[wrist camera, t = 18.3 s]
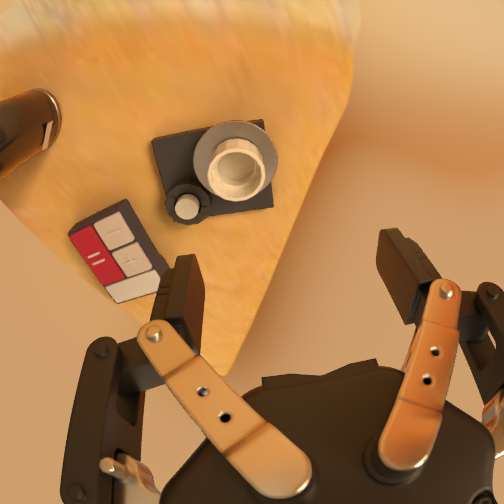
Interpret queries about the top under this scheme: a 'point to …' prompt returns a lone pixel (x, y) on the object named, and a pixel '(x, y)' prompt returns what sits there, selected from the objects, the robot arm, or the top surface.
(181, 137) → the grey knob plate
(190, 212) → the button
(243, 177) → the bowl
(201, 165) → the pan
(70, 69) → the top surface
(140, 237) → the calculator
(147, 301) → the top surface
